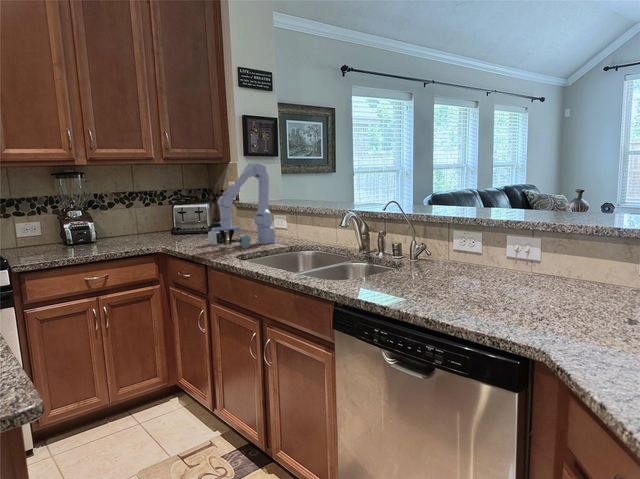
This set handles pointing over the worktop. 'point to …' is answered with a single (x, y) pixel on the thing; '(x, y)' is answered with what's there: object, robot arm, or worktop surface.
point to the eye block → (244, 241)
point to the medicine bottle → (215, 235)
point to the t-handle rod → (234, 241)
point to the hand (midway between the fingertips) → (227, 244)
